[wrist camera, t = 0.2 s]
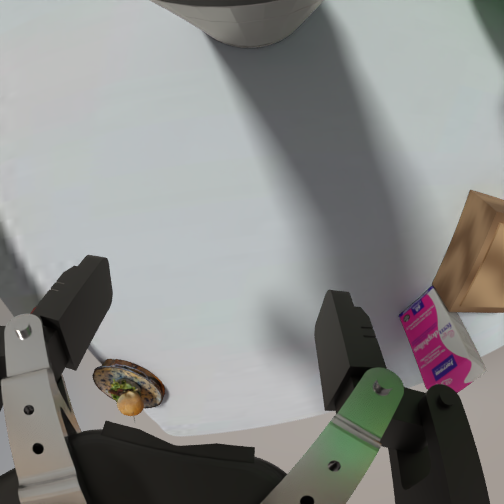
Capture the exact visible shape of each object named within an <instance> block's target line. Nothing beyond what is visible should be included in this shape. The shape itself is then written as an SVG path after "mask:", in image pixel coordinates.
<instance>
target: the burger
mask: <svg viewBox="0 0 504 504" xmlns="http://www.w3.org/2000/svg"><path fill="white" fill-rule="evenodd" d="M93 380H94V382H95V384H96V386H97V387H98V388H99V389H100V390H101V391H102V392H104V393H105V394H106V395H107V396H109V397H110V398H112V399H114V400H116V402H117V407H118V409H119V410H120V411H121V413H123V414H124V415H128V416H135V415H138V414H139V413H141V411H142V410H143V408H152V407H156V406H158V405H160V404H161V402H162V400H163V396H164V394H165V393H164V392H165V388H164V385H163V384H162V382H161V381H160V380H159V379H158V378H157V377H156V376H155V375H153V374H152V373H151V372H149V371H148V370H146V369H144V368H142V367H140V366H138V365H136V364H133V363H131V362H127V361H124V360H119V359H116V360H112V359H107V360H106V361H105V362H104V363H103V365H102V366H100V367H97V368H96V369H95V370H94V373H93Z"/></svg>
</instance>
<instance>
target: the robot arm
mask: <svg viewBox="0 0 504 504" xmlns="http://www.w3.org/2000/svg"><path fill="white" fill-rule="evenodd" d="M150 1H152V2H154V3H155V4H157V5H159V6H161V7H163V8H165V9H167V10H168V11H170V12H172V13H174V14H175V15H177V16H179V17H181V18H182V19H184V20H186V21H187V22H189V23H190V24H192V25H194V26H195V27H197V28H199V29H200V30H202V31H203V32H205V33H206V34H208V35H210V36H211V37H213V39H215V40H217V41H219V42H222V43H225V44H228V45H230V46H236V47H241V48H258V47H263V46H268V45H271V44H274V43H277V42H279V41H281V40H283V39H284V38H286V37H288V36H289V35H291V34H292V33H293V32H294V31H295V30H296V29H297V28H298V27H299V26H300V25H301V24H302V23H303V22H304V21H305V20H306V19H307V18H308V17H309V16H310V15H311V14H312V13H313V11H314V10H315V9H316V8H317V7H318V6H319V5H320V4H321V3H322V2H323V1H324V0H150ZM112 295H113V292H112V284H111V277H110V269H109V262H108V259H107V258H105V257H99V256H93V255H87V256H86V257H85V258H84V259H83V260H82V262H81V263H80V264H79V265H78V266H73V267H72V268H70V269H68V270H67V271H65V272H64V273H63V274H62V275H61V276H60V277H59V279H58V280H57V282H56V283H55V284H54V285H53V286H52V287H51V290H49V291H48V292H47V294H46V295H45V296H44V297H43V299H42V300H41V301H40V302H39V304H38V305H37V306H36V308H35V309H34V310H33V312H32V313H31V314H21V315H18V316H16V317H14V318H13V319H12V320H10V321H9V322H8V324H7V325H6V326H0V411H1V408H2V406H4V414H5V421H6V427H7V432H8V437H9V443H10V447H11V452H12V456H13V460H14V465H15V468H14V469H12V470H10V471H8V472H6V473H5V474H3V475H1V476H0V504H346V502H347V501H348V500H349V498H350V496H351V495H352V494H353V492H354V490H355V489H356V487H357V486H358V484H359V483H360V481H361V480H362V478H363V476H364V475H365V473H366V472H367V470H368V468H369V467H370V465H371V463H372V461H373V460H374V458H375V456H376V455H377V453H378V451H379V449H380V447H381V446H383V447H388V450H389V455H390V463H391V471H392V478H393V486H394V495H395V504H490V501H489V496H488V491H487V487H486V483H485V478H484V474H483V471H482V467H481V463H480V459H479V455H478V452H477V448H476V445H475V442H474V438H473V435H472V432H471V429H470V425H469V422H468V419H467V416H466V413H465V411H464V408H463V405H462V402H461V399H460V397H459V396H458V394H457V393H456V392H455V391H454V390H453V389H452V388H450V387H449V386H446V385H443V384H436V385H433V386H431V387H430V388H429V390H428V391H427V392H426V393H424V392H420V391H416V390H412V389H408V388H405V387H404V386H403V383H402V381H401V379H400V378H399V377H398V376H397V375H396V374H395V373H394V372H392V371H390V370H388V369H387V368H386V365H385V362H384V359H383V356H382V353H381V350H380V347H379V344H378V341H377V338H375V337H376V335H375V333H374V330H373V329H372V328H373V327H372V324H371V321H370V319H369V316H368V315H367V314H366V313H365V312H364V311H363V310H362V308H361V307H354V305H353V302H352V299H351V296H350V293H349V292H344V291H335V290H328V291H327V293H326V295H325V298H324V301H323V304H322V307H321V310H320V313H319V315H318V318H317V321H316V325H315V343H316V350H317V357H318V363H319V370H320V377H321V385H322V392H323V399H324V407H325V411H336V416H334V417H333V419H332V420H331V421H330V423H329V424H328V425H327V427H326V428H325V429H324V431H323V432H322V433H321V434H320V436H319V437H318V438H317V440H316V441H315V442H314V443H313V444H312V446H311V447H310V448H309V449H308V451H307V452H306V453H305V454H304V455H303V457H302V458H301V459H300V460H299V462H298V463H297V464H296V465H295V466H294V467H293V468H292V470H291V471H290V472H289V473H288V474H286V473H285V472H284V471H283V470H281V469H280V468H278V467H277V466H275V465H273V464H272V463H270V462H268V461H265V460H263V459H261V458H257V457H254V453H255V448H254V447H244V446H233V445H225V444H217V443H216V444H204V445H188V446H176V445H172V444H170V443H168V442H166V441H163V440H161V439H159V438H157V437H154V436H152V435H150V434H148V433H146V432H144V431H142V430H140V429H136V428H132V427H128V426H124V425H120V424H116V423H112V422H109V421H105V424H104V427H103V430H101V429H100V430H89V431H83V432H82V431H81V429H80V428H79V425H78V423H77V420H76V418H75V415H74V412H73V409H72V405H71V402H70V399H69V396H68V392H67V389H66V385H65V381H64V378H63V375H62V372H63V370H64V369H65V367H66V368H69V369H73V370H77V368H78V366H79V364H80V362H81V360H82V358H83V356H84V354H85V352H86V350H87V348H88V346H89V345H90V343H91V341H92V339H93V337H94V335H95V333H96V331H97V330H98V328H99V326H100V324H101V322H102V320H103V319H104V317H105V315H106V313H107V311H108V310H109V308H110V306H111V302H112Z"/></svg>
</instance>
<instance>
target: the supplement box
mask: <svg viewBox="0 0 504 504" xmlns="http://www.w3.org/2000/svg"><path fill="white" fill-rule="evenodd" d="M399 317H400V320H401V322H402V325H403V327H404V330H405V332H406V335H407V337H408V340H409V342H410V345H411V348H412V350H413V353H414V356H415V358H416V361H417V364H418V367H419V369H420V372H421V375H422V378H423V381H424V384H425V387H426V389H428V390H429V388H430V387H431V386H433V385H436V384H443V385H446V386H449V387H450V388H452V389H453V390H454V391H455V392H456V393H458V392H459V391H461V390H462V389H464V388H465V387H466V386H468V385H469V384H471V383H472V382H473V381H474V380H476V379H477V378H479V377H480V376H481V375H482V374H484V373H485V372H486V371H487V370H486V367H485V365H484V363H483V361H482V359H481V357H480V355H479V353H478V351H477V349H476V347H475V345H474V343H473V341H472V339H471V337H470V335H469V333H468V332H467V330H466V328H465V326H464V324H463V322H462V320H461V319H460V317H459V315H458V313H457V312H449V311H448V309H447V307H446V306H445V304H444V302H443V301H442V299H441V297H440V296H439V294H438V292H437V291H436V289H435V288H434V287H433V286H431V287H430V288H429V289H428V290H427V291H426V292H425V293H424V294H423V295H422V296H421V297H420V298H419V299H417V300H416V301H415V302H414V303H413V304H412V305H411V306H409V307H408V308H407V309H406V310H404V311H403V312H402V313H401V314H400V315H399Z"/></svg>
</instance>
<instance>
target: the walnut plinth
mask: <svg viewBox="0 0 504 504" xmlns="http://www.w3.org/2000/svg"><path fill="white" fill-rule="evenodd" d="M432 284H433V286H434V287H435V289H436V291H437V292H438V294H439V296H440V297H441V299H442V301H443V302H444V304H445V306H446V307H447V309H448V311H449V312H481V313H504V200H502V199H499V198H496V197H493V196H489V195H486V194H483V193H480V192H476V191H473V190H470V192H469V195H468V198H467V201H466V203H465V206H464V209H463V212H462V214H461V217H460V220H459V222H458V225H457V228H456V230H455V233H454V235H453V238H452V240H451V243H450V245H449V247H448V250H447V252H446V254H445V257H444V259H443V261H442V263H441V266H440V268H439V270H438V272H437V274H436V277H435V279H434V281H433V283H432Z"/></svg>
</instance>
